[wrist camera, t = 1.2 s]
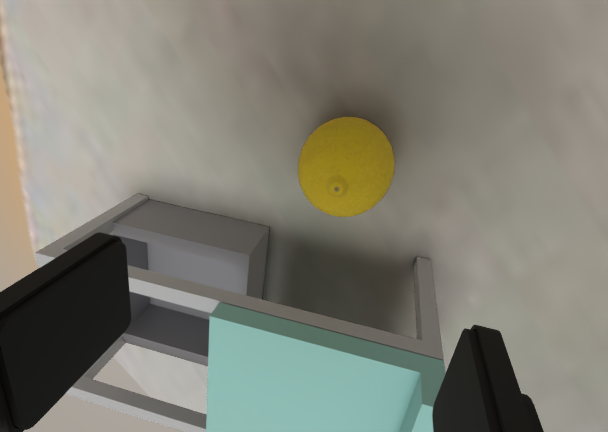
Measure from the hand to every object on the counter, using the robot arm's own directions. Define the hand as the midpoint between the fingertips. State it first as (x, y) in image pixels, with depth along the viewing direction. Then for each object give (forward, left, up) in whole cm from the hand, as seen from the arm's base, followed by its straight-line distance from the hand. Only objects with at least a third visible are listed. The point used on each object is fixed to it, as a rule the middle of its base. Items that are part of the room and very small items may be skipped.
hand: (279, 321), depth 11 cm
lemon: (0, 0, -18) cm, 18 cm away
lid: (+13, +1, -8) cm, 15 cm away
